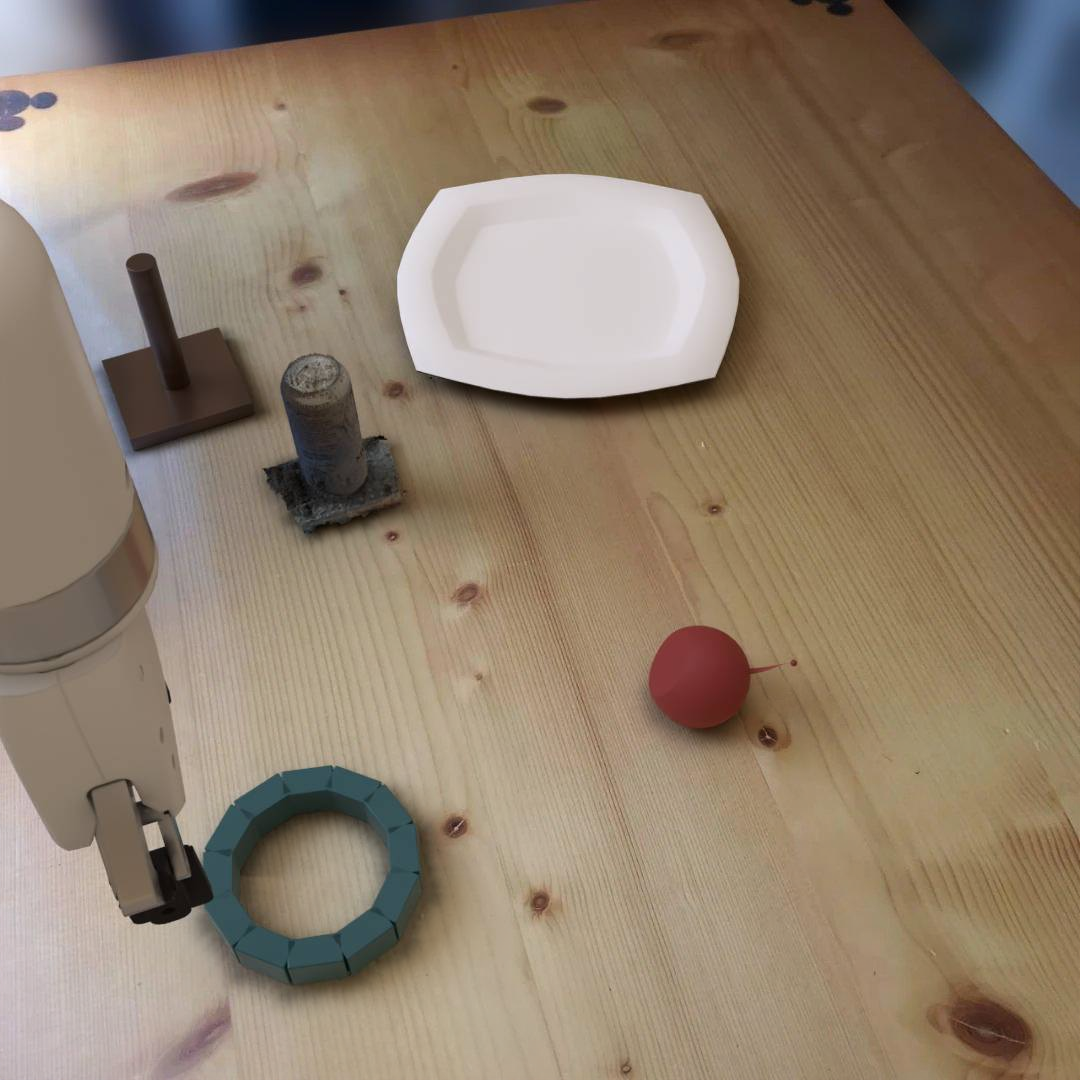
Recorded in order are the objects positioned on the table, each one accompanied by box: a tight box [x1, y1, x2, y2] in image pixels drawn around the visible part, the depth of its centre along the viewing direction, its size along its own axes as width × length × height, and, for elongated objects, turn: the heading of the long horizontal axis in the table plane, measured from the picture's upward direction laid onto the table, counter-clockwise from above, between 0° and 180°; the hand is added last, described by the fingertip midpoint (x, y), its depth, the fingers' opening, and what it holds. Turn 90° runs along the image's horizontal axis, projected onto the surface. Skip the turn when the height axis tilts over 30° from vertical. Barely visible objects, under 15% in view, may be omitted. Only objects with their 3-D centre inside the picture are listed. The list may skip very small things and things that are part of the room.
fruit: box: [648, 625, 798, 729], centre depth 78 cm, size 6×6×8 cm
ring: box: [202, 764, 424, 986], centre depth 72 cm, size 12×12×2 cm
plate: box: [396, 173, 740, 400], centre depth 103 cm, size 27×27×2 cm
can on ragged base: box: [262, 352, 403, 535], centre depth 86 cm, size 9×8×12 cm
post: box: [101, 252, 256, 452], centre depth 92 cm, size 9×9×12 cm
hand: (154, 803), depth 55 cm, fingers open, 9 cm apart
